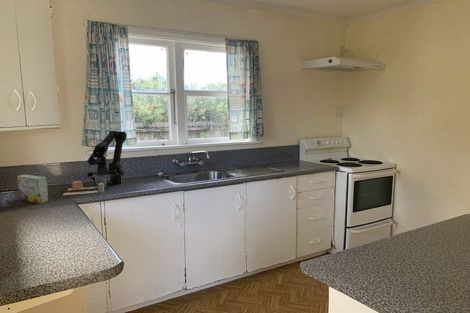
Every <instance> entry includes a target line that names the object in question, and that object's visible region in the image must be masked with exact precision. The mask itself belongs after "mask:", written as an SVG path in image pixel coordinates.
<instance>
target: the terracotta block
mask: <svg viewBox="0 0 470 313" xmlns="http://www.w3.org/2000/svg"><path fill="white" fill-rule="evenodd" d="M71 185H72V189H73V190H72V191H82V190H81V189H82V188H83V181H82V180H75V181H74V180H73V181H72V184H71Z"/></svg>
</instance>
